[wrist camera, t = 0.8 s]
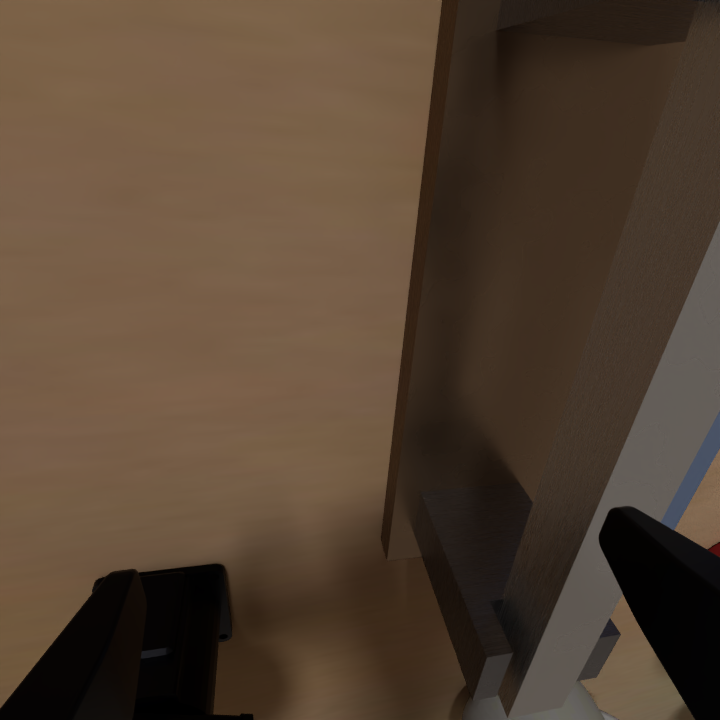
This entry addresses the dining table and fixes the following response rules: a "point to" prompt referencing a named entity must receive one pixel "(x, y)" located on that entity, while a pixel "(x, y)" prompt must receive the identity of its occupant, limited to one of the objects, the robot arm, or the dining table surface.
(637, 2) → the stand
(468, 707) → the teacup
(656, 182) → the rail
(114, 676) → the robot arm
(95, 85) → the dining table surface
